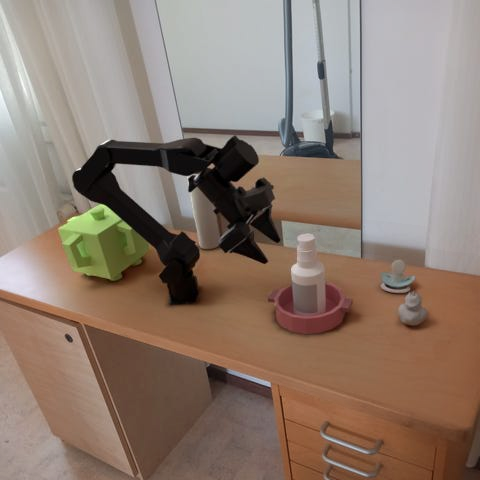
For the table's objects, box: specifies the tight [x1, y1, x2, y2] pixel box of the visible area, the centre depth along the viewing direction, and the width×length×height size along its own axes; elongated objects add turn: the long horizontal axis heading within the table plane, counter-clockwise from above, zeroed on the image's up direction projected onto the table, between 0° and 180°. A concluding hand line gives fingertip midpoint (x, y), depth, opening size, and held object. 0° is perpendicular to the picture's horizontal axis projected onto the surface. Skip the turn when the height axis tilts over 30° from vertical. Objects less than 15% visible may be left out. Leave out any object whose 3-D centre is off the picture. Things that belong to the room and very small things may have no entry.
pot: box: [267, 280, 354, 335], centre depth 105 cm, size 18×15×4 cm
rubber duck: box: [397, 290, 428, 327], centre depth 97 cm, size 5×7×8 cm
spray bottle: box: [290, 233, 326, 316], centre depth 101 cm, size 7×7×18 cm
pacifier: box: [380, 259, 416, 294], centre depth 108 cm, size 7×6×6 cm
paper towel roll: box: [186, 171, 221, 250], centre depth 134 cm, size 7×6×21 cm
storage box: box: [57, 204, 151, 282], centre depth 131 cm, size 25×23×17 cm
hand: (273, 252), depth 103 cm, fingers open, 9 cm apart
